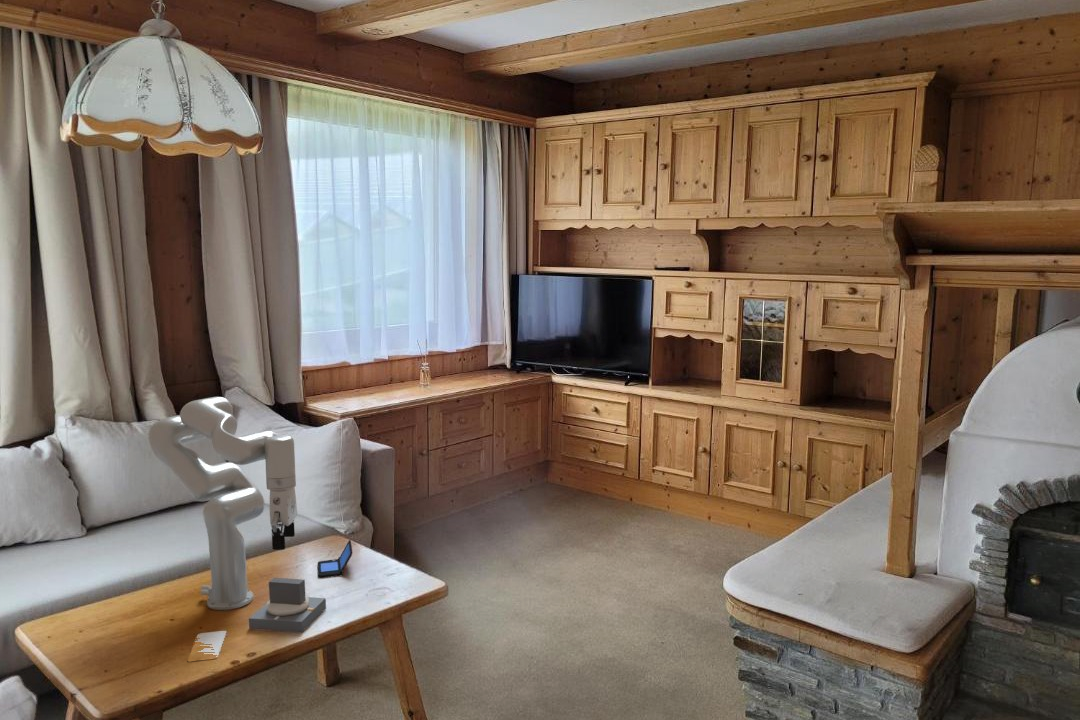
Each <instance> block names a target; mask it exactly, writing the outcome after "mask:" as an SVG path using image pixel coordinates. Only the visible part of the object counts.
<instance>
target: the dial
mask: <svg viewBox="0 0 1080 720" xmlns="http://www.w3.org/2000/svg"><path fill="white" fill-rule="evenodd" d="M268 592H269V593H268V594H269V595H268V596H269V600H268V601H267V602H266V603H267V612H268V613H270V614H272V615H277V616H286V615H292V614H296V613H299V612H302V611H304V610H305V609H306V608H307V607H308V606H309V598H308V597H309V596H308V595H306V583H305V579H304V578H303V579H302V578H300V579H299V578H286V577H285V578H284V577H273V578H271V580H269V581H268Z"/></svg>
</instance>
